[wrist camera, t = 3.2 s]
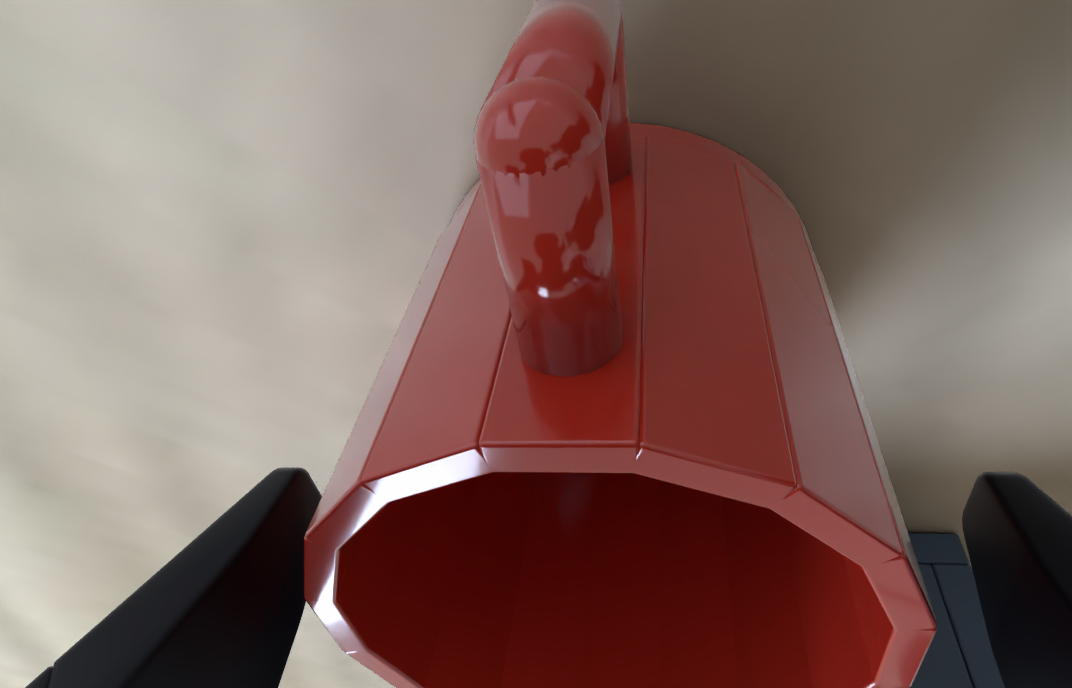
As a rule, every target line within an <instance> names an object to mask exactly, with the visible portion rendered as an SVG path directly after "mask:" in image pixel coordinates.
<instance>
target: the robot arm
mask: <svg viewBox="0 0 1072 688" xmlns="http://www.w3.org/2000/svg"><path fill="white" fill-rule="evenodd" d="M321 498H322V496H321V494H320V492H319V491H318V489H317V487H316V485H315V484H314V482H313V480H312V479H311V477H310V475H309V473H308V472H307V471H306V470H304V469H303V468H278V469H276V470H274V471H272V472H271V473H270V474H269V475H268V476H266V477H265V478H264V479H263V480H262V481H261V482H260V483H258V484H257V485H256V486H255V487H254V488H253V489H252V490H250V491H249V492H248V493H247V494H246V495H245V496H244V497H242V498H241V499H240V500H239V501H238V502H237V503H236V504H234V505H233V506H232V507H231V508H230V509H229V510H228V511H226V512H225V513H224V514H223V515H222V516H221V517H220V518H219V519H217V520H216V521H215V522H214V523H213V524H212V525H211V526H209V527H208V528H207V529H206V530H205V531H204V532H203V533H201V534H200V535H199V536H198V537H197V538H196V539H195V540H193V541H192V542H191V543H190V544H189V545H188V546H187V547H185V548H184V549H183V550H182V551H181V552H180V553H179V554H177V555H176V556H175V557H174V558H173V559H172V560H171V561H169V562H168V563H167V564H166V565H165V566H164V567H163V568H161V569H160V570H159V571H158V572H157V573H156V574H155V575H153V576H152V577H151V578H150V579H149V580H148V581H147V582H145V583H144V584H143V585H142V586H141V587H140V588H139V589H137V590H136V591H135V592H134V593H133V594H132V595H131V596H129V597H128V598H127V599H126V600H125V601H124V602H123V603H121V604H120V605H119V606H118V607H117V608H116V609H115V610H113V611H112V612H111V613H110V614H109V615H108V616H107V617H106V618H104V619H103V620H102V621H101V622H100V623H99V624H98V625H96V626H95V627H94V628H93V629H92V630H91V631H90V632H88V633H87V634H86V635H85V636H84V637H83V638H82V639H80V640H79V641H78V642H77V643H76V644H75V645H74V646H72V647H71V648H70V649H69V650H68V651H67V652H66V653H64V654H63V655H62V656H61V657H60V658H59V659H58V660H56V662H55V663H54V666H51V667H48V668H47V669H46V670H45V671H44V672H42V673H41V674H40V675H39V676H38V677H37V678H36V679H34V680H33V681H32V682H31V683H30V684H29V685H28V686H26V687H25V688H278V686H279V683H280V680H281V677H282V674H283V671H284V668H285V665H286V662H287V659H288V656H289V653H290V650H291V647H292V644H293V641H294V639H295V636H296V633H297V630H298V627H299V623H300V620H301V617H302V614H303V610H304V606H305V602H306V600H305V596H304V536H305V534H306V531H307V529H308V527H309V525H310V522H311V520H312V518H313V516H314V513H315V511H316V509H317V507H318V505H319V502H320V500H321ZM962 525H963V532H964V536H965V540H966V544H967V549H968V553H969V557H970V561H971V566H972V570H973V574H974V578H975V583H976V587H977V591H978V595H979V599H980V604H981V608H982V612H983V616H984V621H985V625H986V629H987V633H988V637H989V640H990V644H991V648H992V652H993V655H994V658H995V661H996V664H997V667H998V670H999V672H1000V675H1001V678H1002V681H1003V683H1004V686H1005V688H1072V516H1071V515H1070V514H1069V513H1068V512H1066V511H1065V510H1064V509H1063V508H1062V507H1061V506H1059V505H1058V504H1057V503H1056V502H1055V501H1054V500H1052V499H1051V498H1050V497H1049V496H1048V495H1047V494H1045V493H1044V492H1043V491H1042V490H1041V489H1039V488H1038V487H1037V486H1036V485H1035V484H1034V483H1032V482H1031V481H1030V480H1029V479H1028V478H1026V477H1025V476H1023V475H1021V474H1019V473H1014V472H985V473H982V474H981V475H979V476H978V478H977V480H976V482H975V484H974V487H973V489H972V491H971V494H970V496H969V499H968V501H967V504H966V506H965V508H964V511H963V516H962Z"/></svg>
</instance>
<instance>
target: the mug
mask: <svg viewBox="0 0 1072 688" xmlns="http://www.w3.org/2000/svg"><path fill="white" fill-rule="evenodd" d="M474 150H475V157H476V162H477V166H478V170H479V175H480V179H479V181H478V182H477V183H476V184H475V185H474V186H473V187H472V189H471V190H470V191H469V192H468V193H467V194H466V196H465V197H464V199H463V200H462V202H461V203H460V205H459V207H458V208H457V210H456V211H455V213H454V215H453V217H452V220H451V222H450V224H449V225H448V226H447V228H446V229H445V230H444V232H443V233H442V234H441V236H440V237H439V239H438V242H437V244H436V246H435V248H434V250H433V253H432V255H431V257H430V259H429V261H428V264H427V266H426V268H425V270H424V273H423V275H422V277H421V279H420V281H419V284H418V286H417V288H416V290H415V292H414V295H413V297H412V299H411V301H410V303H409V306H408V308H407V310H406V312H405V315H404V317H403V319H402V321H401V323H400V326H399V328H398V330H397V332H396V334H395V337H394V339H393V341H392V343H391V345H390V348H389V350H388V352H387V354H386V357H385V359H384V361H383V363H382V365H381V368H380V370H379V372H378V374H377V376H376V379H375V381H374V383H373V385H372V387H371V390H370V392H369V394H368V396H367V399H366V401H365V403H364V405H363V407H362V410H361V412H360V414H359V416H358V418H357V421H356V423H355V425H354V427H353V429H352V432H351V434H350V436H349V438H348V441H347V443H346V445H345V447H344V449H343V452H342V454H341V456H340V458H339V460H338V463H337V465H336V467H335V469H334V471H333V474H332V476H331V478H330V480H329V483H328V485H327V487H326V489H325V491H324V494H323V496H322V498H321V500H320V502H319V505H318V507H317V509H316V511H315V513H314V516H313V518H312V520H311V522H310V525H309V527H308V529H307V531H306V534H305V536H304V596H305V600H306V601H307V603H308V604H309V605H310V607H311V608H312V609H313V611H314V612H315V614H316V615H317V616H318V618H319V619H320V621H321V622H322V623H323V625H324V626H325V627H326V629H327V630H328V632H329V633H330V634H331V636H332V637H333V638H334V640H335V641H336V643H337V644H338V645H339V647H340V648H341V649H342V650H343V651H344V652H345V653H346V654H348V655H349V656H350V657H352V658H353V659H355V660H356V661H358V662H359V663H361V664H362V665H364V666H365V667H367V668H368V669H369V670H371V671H372V672H374V673H375V674H377V675H378V676H380V677H381V678H383V679H384V680H386V681H387V682H388V683H390V684H391V685H393V686H394V687H396V688H909V687H911V686H912V683H913V681H914V679H915V677H916V675H917V673H918V670H919V668H920V666H921V664H922V662H923V660H924V657H925V655H926V653H927V651H928V649H929V646H930V644H931V642H932V640H933V638H934V636H935V633H936V631H937V621H936V618H935V615H934V612H933V609H932V606H931V603H930V599H929V596H928V593H927V590H926V587H925V584H924V581H923V578H922V575H921V572H920V569H919V566H918V563H917V560H916V557H915V554H914V551H913V547H912V544H911V541H910V538H909V535H908V532H907V529H906V526H905V523H904V520H903V517H902V514H901V511H900V508H899V505H898V502H897V499H896V496H895V492H894V489H893V486H892V483H891V480H890V477H889V474H888V471H887V468H886V465H885V462H884V459H883V456H882V453H881V450H880V447H879V444H878V440H877V437H876V434H875V431H874V428H873V425H872V422H871V419H870V416H869V413H868V410H867V407H866V404H865V401H864V398H863V395H862V392H861V389H860V385H859V382H858V379H857V376H856V373H855V370H854V367H853V364H852V361H851V358H850V355H849V352H848V349H847V346H846V343H845V340H844V337H843V333H842V330H841V327H840V324H839V321H838V318H837V315H836V312H835V309H834V306H833V303H832V300H831V297H830V294H829V291H828V288H827V285H826V281H825V278H824V276H823V273H822V271H821V268H820V266H819V263H818V261H817V259H816V256H815V254H814V251H813V249H812V246H811V243H810V239H809V236H808V233H807V230H806V228H805V226H804V224H803V222H802V220H801V218H800V216H799V214H798V212H797V210H796V208H795V207H794V205H793V204H792V203H791V201H790V200H789V199H788V197H787V196H786V195H785V193H784V192H783V190H782V189H781V188H780V187H779V186H778V185H777V184H776V183H775V182H774V181H773V180H772V179H771V178H770V177H769V176H768V175H767V174H766V173H765V172H764V171H763V170H761V169H760V168H759V167H757V166H756V165H754V164H753V163H752V162H750V161H749V160H748V159H746V158H745V157H744V156H742V155H741V154H739V153H737V152H735V151H733V150H731V149H729V148H727V147H725V146H724V145H722V144H720V143H718V142H716V141H713V140H710V139H708V138H705V137H702V136H699V135H697V134H694V133H691V132H688V131H683V130H679V129H674V128H670V127H665V126H660V125H650V124H639V123H630V121H629V107H628V93H627V78H626V64H625V49H624V35H623V20H622V6H621V0H535V2H534V4H533V6H532V8H531V10H530V12H529V14H528V16H527V18H526V20H525V22H524V24H523V26H522V28H521V30H520V32H519V34H518V36H517V38H516V40H515V42H514V44H513V46H512V48H511V50H510V52H509V54H508V56H507V58H506V60H505V62H504V64H503V66H502V68H501V70H500V72H499V74H498V76H497V78H496V80H495V82H494V84H493V86H492V88H491V90H490V92H489V94H488V96H487V98H486V100H485V102H484V104H483V106H482V108H481V111H480V113H479V115H478V118H477V122H476V126H475V131H474Z"/></svg>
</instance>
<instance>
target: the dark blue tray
mask: <svg viewBox="0 0 1072 688" xmlns="http://www.w3.org/2000/svg"><path fill="white" fill-rule="evenodd" d="M908 535H909V538H910V541H911V544H912V547H913V551H914V554H915V557H916V560H917V563H918V566H919V569H920V572H921V575H922V578H923V581H924V584H925V587H926V590H927V593H928V596H929V599H930V603H931V606H932V609H933V612H934V615H935V618H936V621H937V631H936V633H935V636H934V638H933V640H932V642H931V644H930V646H929V649H928V651H927V653H926V655H925V657H924V660H923V662H922V664H921V666H920V668H919V670H918V673H917V675H916V677H915V679H914V681H913V683H912V686H911V687H909V688H1005V686H1004V683H1003V681H1002V678H1001V675H1000V672H999V670H998V667H997V664H996V661H995V658H994V655H993V652H992V648H991V644H990V640H989V637H988V633H987V629H986V625H985V621H984V616H983V612H982V608H981V604H980V599H979V595H978V591H977V587H976V583H975V578H974V574H973V571H972V569H971V567H970V566H969V561H968V559H967V556H966V553H965V551H964V548H963V546H962V543H961V541H960V538H959V536H958V535H957V534H926V533H908Z"/></svg>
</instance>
